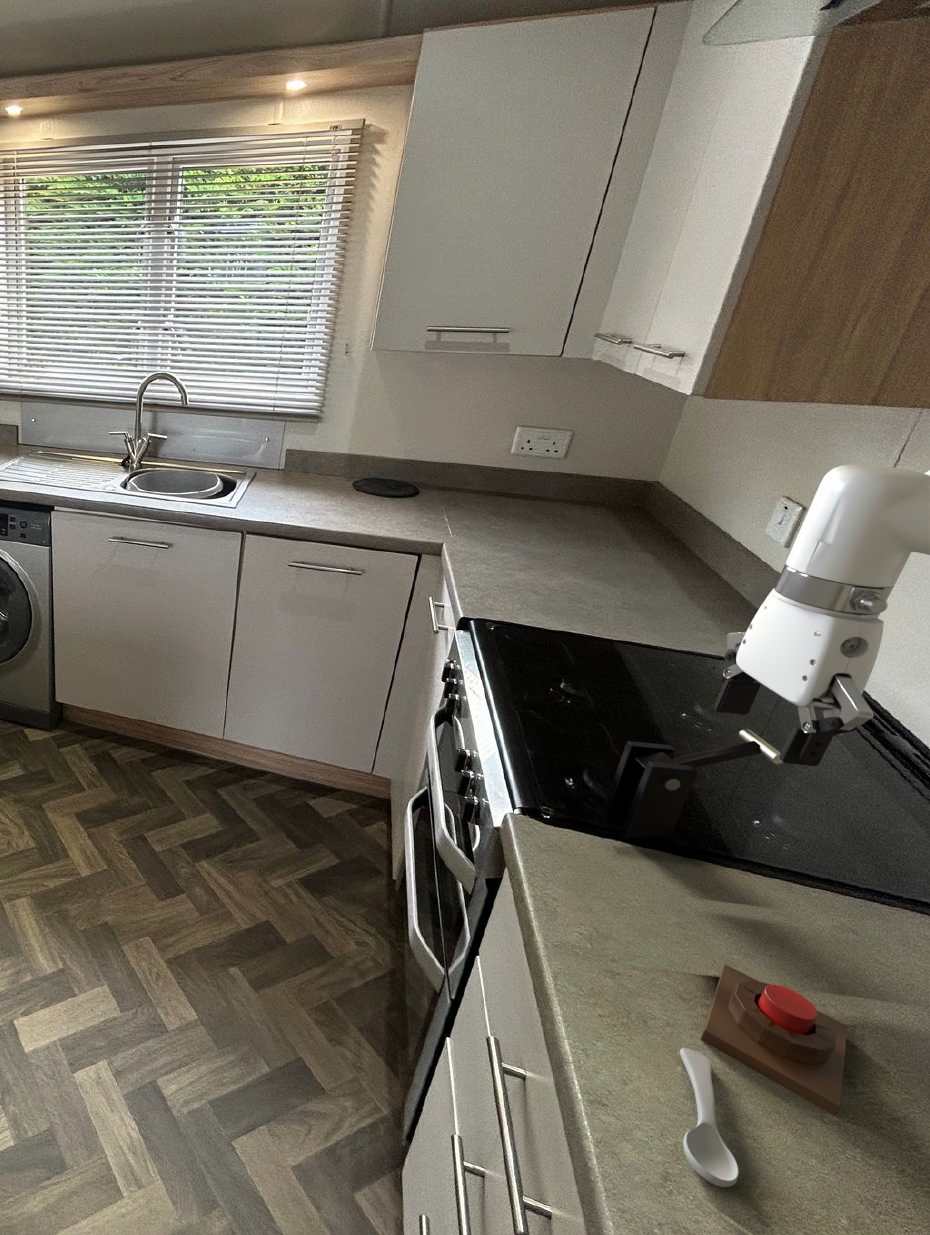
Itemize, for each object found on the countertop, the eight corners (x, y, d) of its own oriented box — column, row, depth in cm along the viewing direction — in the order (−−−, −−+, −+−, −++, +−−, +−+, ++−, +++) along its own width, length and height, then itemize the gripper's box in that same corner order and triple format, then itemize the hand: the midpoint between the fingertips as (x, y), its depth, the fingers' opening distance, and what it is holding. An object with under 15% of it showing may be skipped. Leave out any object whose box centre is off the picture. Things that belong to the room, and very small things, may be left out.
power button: (759, 991, 61) (767, 977, 61) (811, 1018, 59) (819, 1003, 58) (754, 1014, 59) (762, 999, 59) (807, 1042, 57) (816, 1027, 56)
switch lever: (752, 740, 79) (749, 723, 78) (787, 767, 74) (784, 748, 73) (631, 767, 82) (627, 750, 82) (657, 794, 78) (653, 776, 77)
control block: (719, 972, 66) (731, 949, 65) (841, 1035, 60) (856, 1010, 59) (700, 1039, 60) (712, 1015, 59) (833, 1116, 54) (850, 1090, 53)
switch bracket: (657, 819, 86) (690, 738, 82) (707, 873, 78) (746, 786, 73) (559, 808, 88) (586, 728, 83) (598, 859, 79) (630, 774, 75)
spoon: (682, 1176, 50) (691, 1157, 50) (667, 1053, 59) (674, 1035, 59) (737, 1206, 49) (747, 1186, 48) (713, 1074, 58) (721, 1056, 57)
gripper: (962, 631, 61) (873, 791, 67) (803, 564, 77) (743, 699, 83) (862, 623, 62) (784, 781, 69) (726, 559, 78) (672, 692, 84)
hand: (761, 736), depth 76 cm, fingers open, 9 cm apart
